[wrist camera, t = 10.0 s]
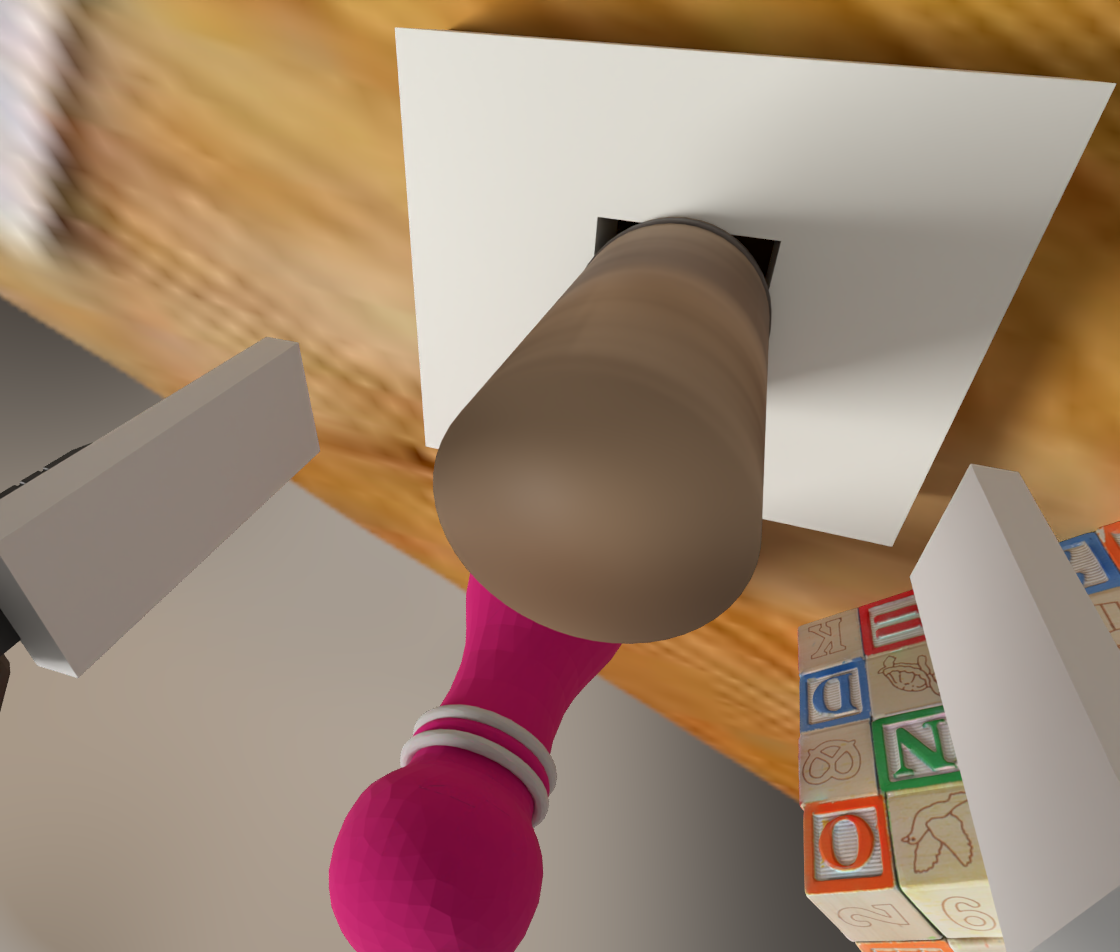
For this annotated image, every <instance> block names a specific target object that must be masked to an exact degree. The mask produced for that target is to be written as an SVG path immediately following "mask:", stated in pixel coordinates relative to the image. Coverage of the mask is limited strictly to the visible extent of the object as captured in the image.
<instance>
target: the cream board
mask: <svg viewBox="0 0 1120 952" xmlns="http://www.w3.org/2000/svg"><path fill="white" fill-rule="evenodd" d="M395 37H396V50H397V64H398V77H399V91H400V104H401V118H402V131H403V145H404V158H405V172H406V185H407V199H408V212H409V226H410V239H411V253H412V266H413V280H414V293H415V307H416V320H417V334H418V348H419V361H420V375H421V388H422V402H423V415H424V429H425V442H426V446H427V447H432V448H436V449H439V447H440V444H441V441H442V439H443V437H444V435H445V433H446V432H447V430H448V428H449V426H450V425H451V423H452V422H453V421H454V420H455V418H456V417H457V416H458V415H459V413H460V412H461V411H462V410H463V409H464V407H465V406H466V405H467V404H468V403H469V402H470V400H471V399H472V398H473V397H474V396H475V395H476V394H477V392H478V391H479V390H480V389H481V388H482V387H483V386H484V384H485V383H486V382H487V381H488V380H489V379H490V378H491V376H492V375H493V374H494V373H495V372H496V371H497V369H498V368H499V367H500V366H501V365H502V364H503V363H504V361H505V360H506V359H507V358H508V357H509V356H510V355H511V353H512V352H513V351H514V350H515V349H516V348H517V347H518V345H519V344H520V343H521V342H522V341H523V340H524V338H525V337H526V336H527V335H528V334H529V333H530V332H531V330H532V329H533V328H534V327H535V326H536V325H537V324H538V322H539V321H540V320H541V319H542V318H543V317H544V315H545V314H546V313H547V312H548V311H549V310H550V309H551V307H552V306H553V305H554V304H555V303H556V302H557V301H558V299H559V298H560V297H561V296H562V295H563V294H564V293H565V291H566V290H567V289H568V288H569V287H570V286H571V284H572V283H573V282H574V281H575V280H576V279H577V278H578V276H579V275H580V274H581V273H582V272H583V271H584V270H585V268H586V266H587V265H588V263H589V262H590V261H591V259H592V258H593V257H594V256H595V254H596V253H597V252H598V251H599V250H600V249H601V248H602V247H603V246H604V245H605V244H606V243H607V242H608V241H609V240H610V239H612V238H613V237H615V236H616V234H617V225H618V220H625V221H633V222H641V223H642V222H645V221H648V220H652V219H657V218H663V217H687V218H692V219H697V220H702V221H705V222H707V223H710V224H713V225H715V226H717V227H719V228H721V229H723V230H725V231H726V232H728V233H729V234H732V235H739V236H747V237H754V238H762V239H769V240H775V241H774V246H773V250H772V254H771V258H770V262H769V266H768V270H767V274H766V278H765V280H766V283H767V285H768V290H769V294H770V298H771V309H772V315H771V331H770V336H769V349H768V376H767V404H766V431H765V458H764V486H763V513H762V519H766V520H770V521H775V522H780V523H784V524H789V525H793V526H798V527H803V528H807V529H812V530H817V531H821V532H826V533H831V534H835V535H840V536H844V537H849V538H854V539H858V540H863V541H868V542H872V543H877V544H882V545H886V546H891V547H892V546H893V544H894V541H895V539H896V537H897V535H898V533H899V531H900V529H901V527H902V525H903V523H904V521H905V519H906V517H907V515H908V513H909V511H910V508H911V506H912V504H913V502H914V500H915V498H916V496H917V494H918V492H919V490H920V488H921V486H922V484H923V482H924V480H925V478H926V475H927V473H928V471H929V469H930V467H931V465H932V463H933V461H934V459H935V457H936V455H937V453H938V451H939V449H940V447H941V444H942V442H943V440H944V438H945V436H946V434H947V432H948V430H949V428H950V426H951V424H952V422H953V420H954V418H955V416H956V414H957V411H958V409H959V407H960V405H961V403H962V401H963V399H964V397H965V395H966V393H967V391H968V389H969V387H970V385H971V383H972V381H973V378H974V376H975V374H976V372H977V370H978V368H979V366H980V364H981V362H982V360H983V358H984V356H985V354H986V352H987V350H988V348H989V345H990V343H991V341H992V339H993V337H994V335H995V333H996V331H997V329H998V327H999V325H1000V323H1001V321H1002V319H1003V317H1004V315H1005V312H1006V310H1007V308H1008V306H1009V304H1010V302H1011V300H1012V298H1013V296H1014V294H1015V292H1016V290H1017V288H1018V286H1019V284H1020V281H1021V279H1022V277H1023V275H1024V273H1025V271H1026V269H1027V267H1028V265H1029V263H1030V261H1031V259H1032V257H1033V255H1034V253H1035V251H1036V248H1037V246H1038V244H1039V242H1040V240H1041V238H1042V236H1043V234H1044V232H1045V230H1046V228H1047V226H1048V224H1049V222H1050V220H1051V218H1052V215H1053V213H1054V211H1055V209H1056V207H1057V205H1058V203H1059V201H1060V199H1061V197H1062V195H1063V193H1064V191H1065V189H1066V187H1067V185H1068V182H1069V180H1070V178H1071V176H1072V174H1073V172H1074V170H1075V168H1076V166H1077V164H1078V162H1079V160H1080V158H1081V156H1082V154H1083V152H1084V149H1085V147H1086V145H1087V143H1088V141H1089V139H1090V137H1091V135H1092V133H1093V131H1094V129H1095V127H1096V125H1097V123H1098V121H1099V119H1100V116H1101V114H1102V112H1103V110H1104V108H1105V106H1106V104H1107V102H1108V100H1109V98H1110V96H1111V94H1112V92H1113V90H1114V88H1115V85H1116V83H1108V82H1099V81H1090V80H1081V79H1072V78H1063V77H1051V76H1038V75H1025V74H1012V73H999V72H986V71H973V70H960V69H947V68H934V67H921V66H908V65H895V64H882V63H869V62H856V61H843V60H830V59H817V58H804V57H791V56H778V55H765V54H752V53H739V52H726V51H713V50H700V49H687V48H674V47H661V46H648V45H635V44H622V43H609V42H596V41H583V40H570V39H558V38H545V37H532V36H519V35H506V34H493V33H480V32H467V31H454V30H437V29H415V28H395Z"/></svg>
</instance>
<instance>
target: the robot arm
mask: <svg viewBox="0 0 1120 952" xmlns="http://www.w3.org/2000/svg"><path fill="white" fill-rule="evenodd" d="M319 452H320V448H319V443H318V438H317V433H316V428H315V423H314V418H313V413H312V408H311V403H310V398H309V393H308V388H307V383H306V378H305V373H304V368H303V363H302V358H301V353H300V348H299V343H298V342H292V341H287V340H281V339H276V338H270V337H265V338H264V339H262V340H260V341H259V342H257V343H255V344H254V345H252V346H251V347H249V348H247V349H246V350H244V351H242V352H241V353H239V354H237V355H236V356H234V357H233V358H231V359H229V360H228V361H226V362H224V363H223V364H221V365H219V366H218V367H216V368H214V369H213V370H211V371H210V372H208V373H206V374H205V375H203V376H201V377H200V378H198V379H196V380H195V381H193V382H192V383H190V384H188V385H187V386H185V387H183V388H182V389H180V390H178V391H177V392H175V393H174V394H172V395H170V396H169V397H167V398H165V399H164V400H162V401H160V402H159V403H157V404H155V405H154V406H152V407H151V408H149V409H147V410H146V411H144V412H142V413H141V414H139V415H137V416H136V417H134V418H133V419H131V420H129V421H128V422H126V423H124V424H123V425H121V426H119V427H118V428H116V429H115V430H113V431H111V432H110V433H108V434H106V435H105V436H103V437H101V438H100V439H98V440H97V441H95V442H93V443H90V444H88V445H85V446H82V447H79V448H77V449H74V450H72V451H70V452H69V453H67V454H65V455H63V456H62V457H60V458H58V459H57V460H55V461H53V462H52V463H50V464H48V465H47V466H45V467H43V468H44V469H43V471H42V472H40V471H37V472H35V473H33V474H32V475H30V476H29V477H27V478H25V479H23V480H22V481H20V485H19V486H16V485H14V486H12V487H10V488H8V489H7V490H5V491H3V492H2V493H0V710H1V706H2V702H3V699H4V695H5V691H6V687H7V683H8V679H9V675H10V663H9V661H8V660H7V658H6V657H5V655H4V653H5V652H6V651H7V650H9V649H10V648H11V647H12V646H14V645H15V644H16V643H17V642H19V641H21V642H22V644H23V645H24V646H25V648H26V649H27V651H28V652H29V654H30V655H31V657H32V658H33V660H34V661H35V663H36V664H37V665H38V666H41V667H44V668H47V669H50V670H53V671H57V672H60V673H63V674H66V675H70V676H73V677H76V678H79V677H80V676H81V675H82V674H83V673H84V672H85V671H86V670H87V669H88V668H89V667H91V666H92V665H93V664H94V663H95V662H96V661H97V660H98V659H99V658H100V657H101V656H102V655H103V654H104V653H105V652H107V651H108V650H109V649H110V648H111V647H112V646H113V645H114V644H115V643H116V642H117V641H118V640H119V639H120V638H121V637H123V636H124V635H125V634H126V633H127V632H128V631H129V630H130V629H131V628H132V627H133V626H134V625H135V624H136V623H137V622H139V621H140V620H141V619H142V618H143V617H144V616H145V615H146V614H147V613H148V612H149V611H150V610H151V609H152V608H153V607H154V606H155V605H156V604H158V603H159V602H160V601H161V600H162V599H163V598H164V597H165V596H166V595H167V594H168V593H169V592H170V591H172V589H174V588H175V587H176V586H177V585H178V584H179V583H180V582H181V581H182V580H183V579H184V578H185V577H186V576H188V575H189V574H190V573H191V572H192V571H193V570H194V569H195V568H196V567H197V566H198V565H199V564H200V563H201V562H202V561H204V560H205V559H206V558H207V557H208V556H209V555H210V554H211V553H212V552H213V551H214V550H215V549H216V548H217V547H218V546H219V545H220V544H222V543H223V542H224V541H225V540H226V539H227V538H228V537H229V536H230V535H231V534H232V533H233V532H234V531H235V530H237V529H238V528H239V527H240V526H241V525H242V524H243V523H244V522H245V521H246V520H247V519H248V518H249V517H250V516H252V514H254V513H255V512H256V511H257V510H258V509H259V508H260V507H261V506H262V505H263V504H264V503H265V502H266V501H268V500H269V498H271V497H272V496H273V495H274V494H275V493H276V492H277V491H278V490H279V489H280V488H281V487H282V486H283V485H285V483H287V482H288V481H289V480H290V479H291V478H292V477H293V476H294V475H295V474H296V473H297V472H298V471H299V470H301V469H302V468H303V467H304V466H305V465H306V464H307V463H308V462H309V461H310V460H311V459H312V458H313V457H314V456H315V455H317V454H318V453H319ZM910 579H911V583H912V587H913V591H914V595H915V599H916V603H917V606H918V610H919V614H920V618H921V622H922V626H923V630H924V634H925V637H926V641H927V645H928V649H929V653H930V657H931V661H932V665H933V668H934V672H935V676H936V680H937V684H938V688H939V692H940V696H941V699H942V703H943V707H944V711H945V715H946V719H947V723H948V726H949V730H950V734H951V738H952V742H953V746H954V750H955V754H956V757H957V761H958V765H959V769H960V773H961V777H962V781H963V785H964V788H965V792H966V796H967V800H968V804H969V808H970V812H971V816H972V819H973V823H974V827H975V831H976V835H977V839H978V843H979V846H980V850H981V854H982V858H983V862H984V866H985V870H986V874H987V877H988V881H989V885H990V889H991V893H992V897H993V901H994V905H995V908H996V912H997V916H998V920H999V924H1000V928H1001V932H1002V935H1003V939H1004V943H1005V947H1006V951H1007V952H1120V650H1119V648H1118V647H1117V645H1116V643H1115V641H1114V640H1113V638H1112V636H1111V634H1110V633H1109V631H1108V629H1107V627H1106V626H1105V624H1104V622H1103V620H1102V618H1101V617H1100V615H1099V613H1098V611H1097V610H1096V608H1095V606H1094V604H1093V603H1092V601H1091V599H1090V597H1089V595H1088V594H1087V592H1086V590H1085V588H1084V587H1083V585H1082V583H1081V581H1080V580H1079V578H1078V576H1077V574H1076V573H1075V571H1074V569H1073V567H1072V565H1071V564H1070V562H1069V560H1068V558H1067V557H1066V555H1065V553H1064V551H1063V550H1062V548H1061V546H1060V544H1059V542H1058V541H1057V539H1056V537H1055V535H1054V534H1053V532H1052V530H1051V528H1050V527H1049V525H1048V523H1047V521H1046V520H1045V518H1044V516H1043V514H1042V512H1041V511H1040V509H1039V507H1038V505H1037V504H1036V502H1035V500H1034V498H1033V497H1032V495H1031V493H1030V491H1029V489H1028V488H1027V486H1026V484H1025V482H1024V481H1023V479H1022V477H1021V475H1020V474H1019V472H1015V471H1009V470H1004V469H998V468H993V467H987V466H982V465H976V464H970V465H969V467H968V469H967V471H966V473H965V475H964V477H963V478H962V480H961V482H960V484H959V486H958V488H957V490H956V491H955V493H954V495H953V497H952V499H951V501H950V503H949V505H948V506H947V508H946V510H945V512H944V514H943V516H942V518H941V519H940V521H939V523H938V525H937V527H936V529H935V531H934V532H933V534H932V536H931V538H930V540H929V542H928V544H927V546H926V547H925V549H924V551H923V553H922V555H921V557H920V559H919V560H918V562H917V564H916V566H915V568H914V570H913V572H912V574H911V575H910Z"/></svg>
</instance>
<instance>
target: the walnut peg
mask: <svg viewBox="0 0 1120 952" xmlns="http://www.w3.org/2000/svg"><path fill="white" fill-rule="evenodd" d="M771 315H772V309H771V298H770V294H769V290H768V285H767V283H766V280H765V278H764V275H763V273H762V271H761V269H760V267H759V265H758V264H757V262H756V260H755V258H754V257H753V256H752V255H751V253H750V252H749V251H748V250H747V248H746V247H745V246H744V245H743V244H742V243H741V242H739V241H738V240H737V239H736V238H735V237H733V236H732V235H731V234H729V233H728V232H726V231H725V230H723V229H721V228H719V227H717V226H715V225H713V224H710V223H707V222H705V221H702V220H697V219H692V218H687V217H663V218H657V219H652V220H648V221H645V222H642V223H639V224H637V225H634V226H632V227H630V228H628V229H626V230H624V231H622V232H620V233H619V234H617V235H616V236H615V237H613V238H612V239H610V240H609V241H608V242H607V243H606V244H605V245H604V246H603V247H602V248H601V249H600V250H599V251H598V252H597V253H596V254H595V256H594V257H593V258H592V259H591V261H590V262H589V263H588V265H587V266H586V268H585V270H584V271H583V272H582V273H581V274H580V275H579V276H578V278H577V279H576V280H575V281H574V282H573V283H572V284H571V286H570V287H569V288H568V289H567V290H566V291H565V293H564V294H563V295H562V296H561V297H560V298H559V299H558V301H557V302H556V303H555V304H554V305H553V306H552V307H551V309H550V310H549V311H548V312H547V313H546V314H545V315H544V317H543V318H542V319H541V320H540V321H539V322H538V324H537V325H536V326H535V327H534V328H533V329H532V330H531V332H530V333H529V334H528V335H527V336H526V337H525V338H524V340H523V341H522V342H521V343H520V344H519V345H518V347H517V348H516V349H515V350H514V351H513V352H512V353H511V355H510V356H509V357H508V358H507V359H506V360H505V361H504V363H503V364H502V365H501V366H500V367H499V368H498V369H497V371H496V372H495V373H494V374H493V375H492V376H491V378H490V379H489V380H488V381H487V382H486V383H485V384H484V386H483V387H482V388H481V389H480V390H479V391H478V392H477V394H476V395H475V396H474V397H473V398H472V399H471V400H470V402H469V403H468V404H467V405H466V406H465V407H464V409H463V410H462V411H461V412H460V413H459V415H458V416H457V417H456V418H455V420H454V421H453V422H452V423H451V425H450V426H449V428H448V430H447V432H446V433H445V435H444V437H443V439H442V441H441V444H440V447H439V450H438V453H437V456H436V460H435V466H434V472H433V492H434V499H435V506H436V510H437V513H438V517H439V520H440V523H441V526H442V528H443V530H444V533H445V535H446V537H447V539H448V541H449V543H450V545H451V546H452V548H453V550H454V552H455V553H456V555H457V556H458V558H459V559H460V560H461V562H462V563H463V565H464V566H465V567H466V569H467V570H468V571H469V572H470V573H471V574H472V575H473V576H474V577H475V579H476V580H477V581H478V582H479V583H480V584H481V585H482V586H484V587H485V588H486V589H487V590H488V591H489V592H490V593H491V594H492V595H494V596H495V597H496V598H498V599H499V600H500V601H502V602H503V603H504V604H505V605H507V606H508V607H510V608H512V609H513V610H515V611H516V612H518V613H520V614H521V615H523V616H525V617H527V618H529V619H531V620H533V621H534V622H536V623H538V624H541V625H543V626H546V627H548V628H550V629H553V630H555V631H558V632H561V633H564V634H568V635H571V636H574V637H578V638H583V639H588V640H592V641H599V642H607V643H625V644H633V643H648V642H654V641H660V640H666V639H670V638H673V637H677V636H680V635H684V634H686V633H688V632H691V631H693V630H696V629H698V628H700V627H702V626H704V625H705V624H707V623H709V622H710V621H712V620H714V619H715V618H717V617H718V616H719V615H720V614H722V613H723V612H724V611H725V610H727V609H728V608H729V607H730V606H731V605H732V604H733V603H734V602H735V601H736V599H737V598H738V597H739V596H740V595H741V594H742V592H743V590H744V589H745V587H746V586H747V584H748V583H749V581H750V579H751V577H752V575H753V572H754V570H755V568H756V565H757V562H758V558H759V553H760V549H761V537H762V513H763V486H764V458H765V431H766V404H767V376H768V349H769V336H770V331H771Z"/></svg>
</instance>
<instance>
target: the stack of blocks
mask: <svg viewBox="0 0 1120 952" xmlns="http://www.w3.org/2000/svg"><path fill="white" fill-rule="evenodd" d="M1059 544H1060V546H1061V548H1062V550H1063V551H1064V553H1065V555H1066V557H1067V558H1068V560H1069V562H1070V564H1071V565H1072V567H1073V569H1074V571H1075V573H1076V574H1077V576H1078V578H1079V580H1080V581H1081V583H1082V585H1083V587H1084V588H1085V590H1086V592H1087V594H1088V595H1089V597H1090V599H1091V601H1092V603H1093V604H1094V606H1095V608H1096V610H1097V611H1098V613H1099V615H1100V617H1101V618H1102V620H1103V622H1104V624H1105V626H1106V627H1107V629H1108V631H1109V633H1110V634H1111V636H1112V638H1113V640H1114V641H1115V643H1116V645H1117V647H1118V648H1119V650H1120V521H1119V522H1116V523H1113V524H1109V525H1106V526H1103V527H1100V528H1098V529H1097V530H1096V531H1095V532H1092V533H1086V534H1083V535H1080V536H1077V537H1074V538H1071V539H1068V540H1065V541H1062V542H1059ZM798 670H799V676H800V738H799V755H798V758H799V792H800V800H799V801H800V807H801V808H802V809H803V810H804V874H805V893H806V895H807V897H808V898H809V899H810V900H811V901H812V902H813V903H814V904H815V905H816V906H817V907H818V908H819V909H820V910H821V911H822V912H823V913H824V914H825V915H826V916H827V917H828V918H829V919H830V920H831V921H832V922H833V923H834V924H835V925H836V926H837V927H838V928H839V929H840V930H841V932H842V933H844V935H845V936H846V937H847V938H848V939H849V940H850V941H852V942H854V941H855V943H856V944H857V946H858V947H859V949H860V950H861V951H862V952H1007V951H1006V947H1005V943H1004V939H1003V935H1002V932H1001V928H1000V924H999V920H998V916H997V912H996V908H995V905H994V901H993V897H992V893H991V889H990V885H989V881H988V877H987V874H986V870H985V866H984V862H983V858H982V854H981V850H980V846H979V843H978V839H977V835H976V831H975V827H974V823H973V819H972V816H971V812H970V808H969V804H968V800H967V796H966V792H965V788H964V785H963V781H962V777H961V773H960V769H959V765H958V761H957V757H956V754H955V750H954V746H953V742H952V738H951V734H950V730H949V726H948V723H947V719H946V715H945V711H944V707H943V703H942V699H941V696H940V692H939V688H938V684H937V680H936V676H935V672H934V668H933V665H932V661H931V657H930V653H929V649H928V645H927V641H926V637H925V634H924V630H923V626H922V622H921V618H920V614H919V610H918V606H917V603H916V599H915V595H914V591H913V590H910V591H907V592H904V593H901V594H898V595H895V596H892V597H889V598H886V599H883V600H880V601H877V602H874V603H870V604H868V605H864V606H861V607H859V608H855V609H851V610H848V611H845V612H842V613H839V614H835V615H832V616H829V617H826V618H823V619H820V620H817V621H814V622H811V623H808V624H805V625H802V626H800V627H798Z"/></svg>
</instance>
